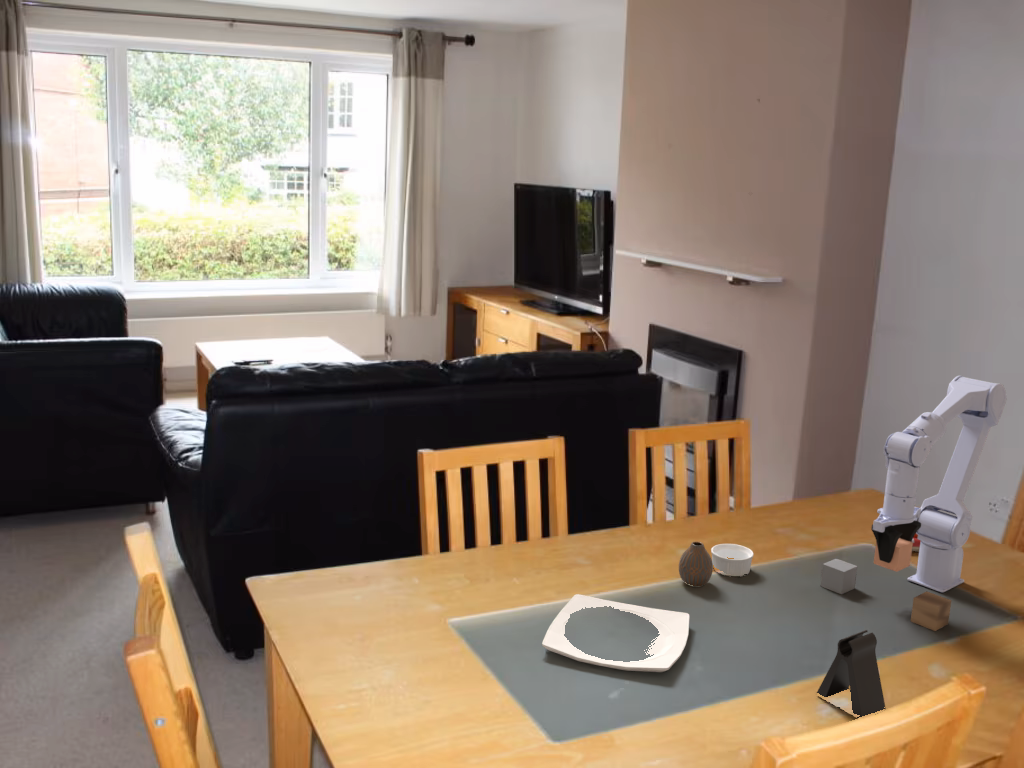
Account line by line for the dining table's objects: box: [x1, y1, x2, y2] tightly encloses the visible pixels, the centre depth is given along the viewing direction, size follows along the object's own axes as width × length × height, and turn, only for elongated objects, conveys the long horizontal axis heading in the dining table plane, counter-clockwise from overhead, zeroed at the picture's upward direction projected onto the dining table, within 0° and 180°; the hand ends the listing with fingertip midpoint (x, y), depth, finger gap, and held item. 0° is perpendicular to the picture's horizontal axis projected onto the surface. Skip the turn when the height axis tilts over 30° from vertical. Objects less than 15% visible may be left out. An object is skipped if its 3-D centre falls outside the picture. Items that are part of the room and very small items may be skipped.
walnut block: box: [910, 591, 952, 632], centre depth 190 cm, size 5×5×5 cm
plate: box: [541, 593, 690, 673], centre depth 180 cm, size 24×24×3 cm
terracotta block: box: [873, 538, 913, 573], centre depth 197 cm, size 5×5×5 cm
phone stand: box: [816, 629, 887, 718], centre depth 160 cm, size 9×6×12 cm, turn 34°
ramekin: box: [710, 543, 754, 576], centre depth 212 cm, size 9×9×4 cm
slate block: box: [819, 558, 858, 595], centre depth 205 cm, size 5×5×5 cm
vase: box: [678, 541, 714, 587], centre depth 204 cm, size 7×7×9 cm
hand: (892, 557), depth 197 cm, fingers closed on terracotta block, 5 cm apart
